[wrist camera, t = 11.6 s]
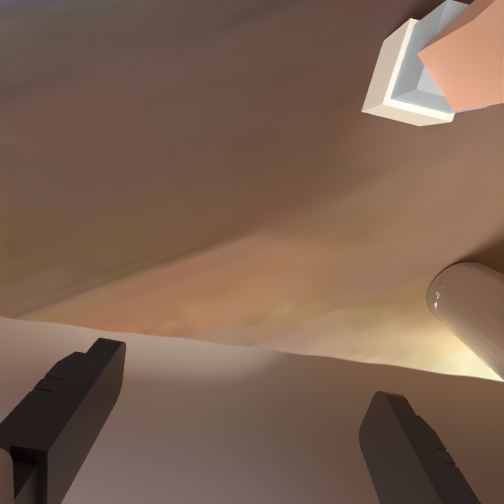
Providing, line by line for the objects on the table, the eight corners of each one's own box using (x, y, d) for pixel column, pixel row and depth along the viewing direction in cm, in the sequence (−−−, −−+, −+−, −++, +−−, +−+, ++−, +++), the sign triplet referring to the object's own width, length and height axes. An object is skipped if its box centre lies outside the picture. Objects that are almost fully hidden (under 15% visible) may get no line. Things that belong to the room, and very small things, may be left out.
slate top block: (477, 42, 27) (524, 19, 23) (449, 114, 29) (487, 107, 24) (413, 25, 27) (447, -1, 22) (389, 99, 29) (416, 89, 24)
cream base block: (445, 57, 33) (484, 38, 27) (419, 126, 35) (451, 121, 29) (383, 41, 33) (410, 18, 27) (361, 111, 35) (382, 104, 29)
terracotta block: (518, 58, 23) (612, 26, 17) (454, 111, 25) (520, 99, 18) (482, -7, 22) (569, -66, 16) (416, 53, 23) (474, 19, 17)
